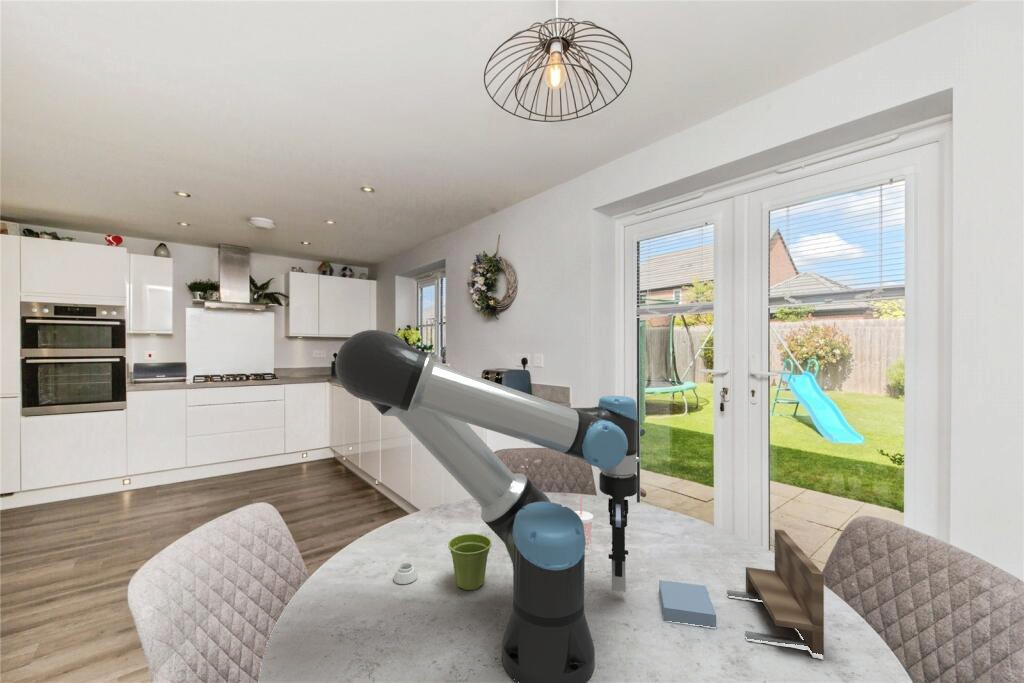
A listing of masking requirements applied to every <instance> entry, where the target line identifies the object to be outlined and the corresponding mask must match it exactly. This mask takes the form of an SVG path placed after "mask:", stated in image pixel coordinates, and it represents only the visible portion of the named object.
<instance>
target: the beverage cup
mask: <svg viewBox="0 0 1024 683" xmlns="http://www.w3.org/2000/svg"><path fill="white" fill-rule="evenodd" d="M579 497H580V498H579V499H580V500H579V510H573V511H574V512H575V513H577V515H578V516H579V517H580V519H581V520H582V522H583V526H584V535H585V540H586V545H585V556H588V555H590V553H591V543H592V542H591V541H592V540H591V539H592V526H593V521H594V515H593V513H590V512H588V511H585V510H583V495H582V494H580V496H579Z"/></svg>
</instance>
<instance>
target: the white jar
mask: <svg viewBox="0 0 1024 683" xmlns="http://www.w3.org/2000/svg"><path fill="white" fill-rule="evenodd" d="M417 579H418V573H417V571H416V569H415V567H414V565H413V564H412V563H411V562H404V563H401V564H400V565H398V567H397V569H396V571H395V573H394V575H393V582H394V583H395V584H398V585H407V584H411V583H414V582H415V581H416V580H417Z"/></svg>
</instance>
